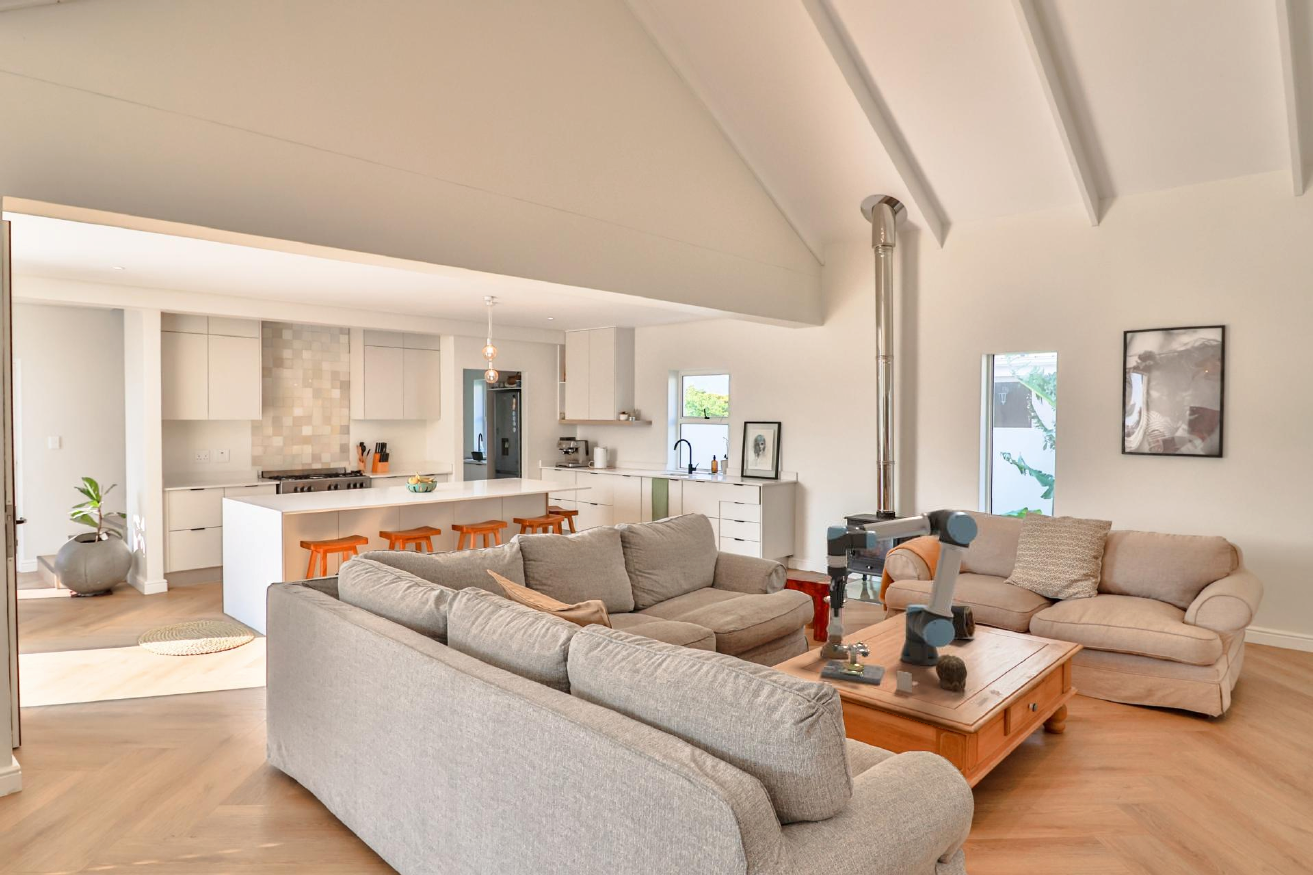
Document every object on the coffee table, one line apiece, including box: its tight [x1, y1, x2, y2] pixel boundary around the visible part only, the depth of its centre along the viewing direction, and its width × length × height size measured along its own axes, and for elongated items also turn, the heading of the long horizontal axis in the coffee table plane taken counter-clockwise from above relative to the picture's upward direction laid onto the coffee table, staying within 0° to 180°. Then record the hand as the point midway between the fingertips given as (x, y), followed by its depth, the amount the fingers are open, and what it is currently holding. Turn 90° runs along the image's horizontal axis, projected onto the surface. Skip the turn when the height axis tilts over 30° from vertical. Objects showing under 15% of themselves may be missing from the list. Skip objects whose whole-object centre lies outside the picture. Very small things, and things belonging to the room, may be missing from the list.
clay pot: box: [951, 605, 976, 640], centre depth 366 cm, size 15×15×25 cm
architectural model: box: [896, 670, 919, 694], centre depth 290 cm, size 3×7×7 cm, turn 47°
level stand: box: [820, 659, 885, 686], centre depth 308 cm, size 22×16×4 cm
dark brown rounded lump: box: [935, 653, 968, 693], centre depth 293 cm, size 11×11×12 cm
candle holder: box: [821, 595, 850, 660], centre depth 334 cm, size 11×11×24 cm
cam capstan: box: [832, 641, 871, 673], centre depth 308 cm, size 14×14×9 cm
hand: (837, 624), depth 310 cm, fingers closed
